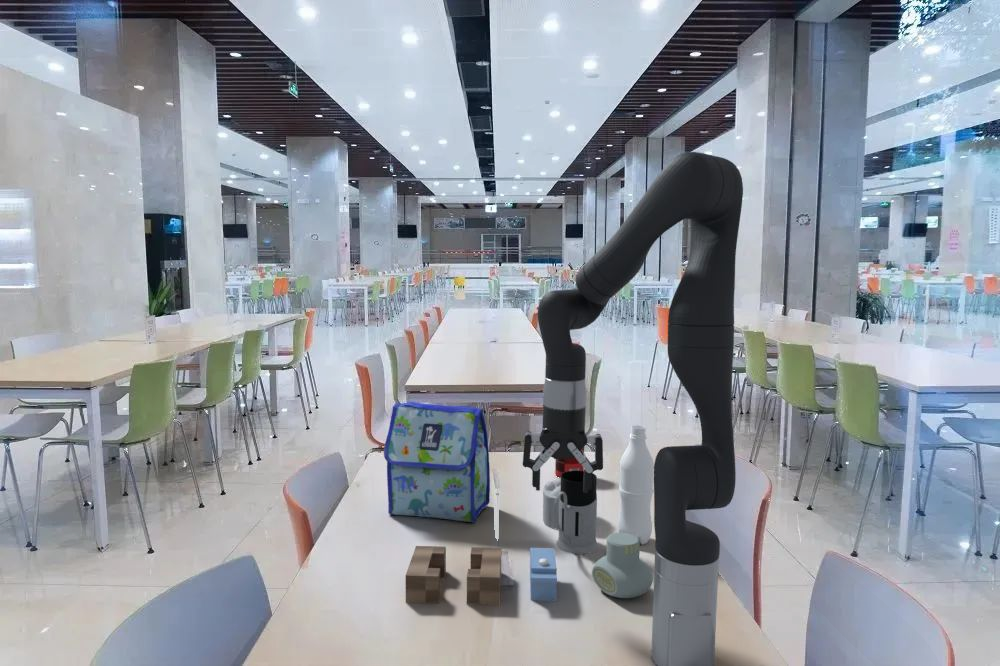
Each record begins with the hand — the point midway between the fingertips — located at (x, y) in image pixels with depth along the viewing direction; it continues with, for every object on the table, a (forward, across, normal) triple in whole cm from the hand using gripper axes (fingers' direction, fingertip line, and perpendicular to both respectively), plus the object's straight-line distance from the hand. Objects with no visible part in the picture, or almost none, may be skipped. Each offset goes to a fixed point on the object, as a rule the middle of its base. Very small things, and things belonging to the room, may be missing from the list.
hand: (561, 490), depth 121 cm
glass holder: (+20, +3, +17) cm, 26 cm away
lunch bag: (+20, -28, +35) cm, 49 cm away
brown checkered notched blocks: (+19, -19, -1) cm, 27 cm away
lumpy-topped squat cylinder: (+20, +2, +34) cm, 39 cm away
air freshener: (+19, +12, 0) cm, 22 cm away
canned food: (+21, +5, +63) cm, 66 cm away
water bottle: (+20, +17, +22) cm, 34 cm away
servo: (+19, -3, 0) cm, 19 cm away
